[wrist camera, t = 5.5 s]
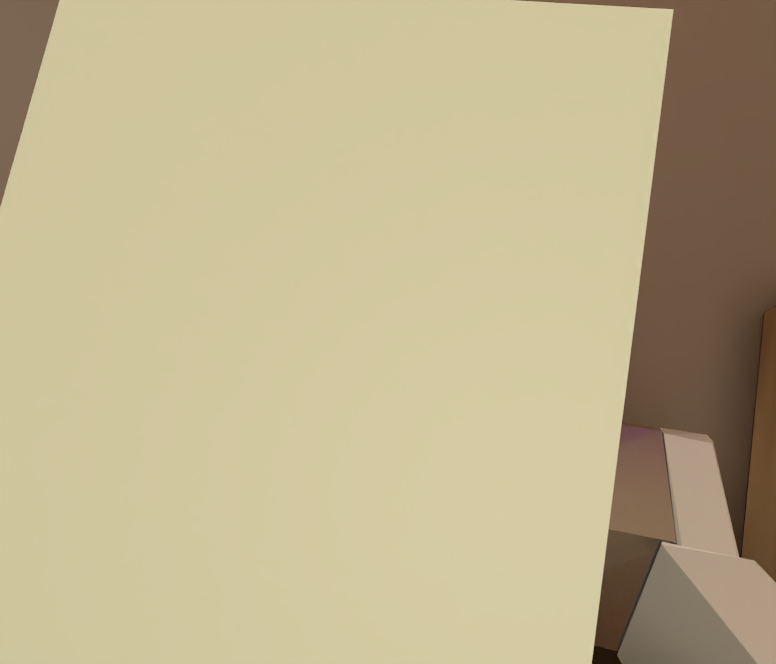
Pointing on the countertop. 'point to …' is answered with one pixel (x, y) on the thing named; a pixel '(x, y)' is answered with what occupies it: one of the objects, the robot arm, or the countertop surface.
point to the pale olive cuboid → (320, 329)
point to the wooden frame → (763, 460)
